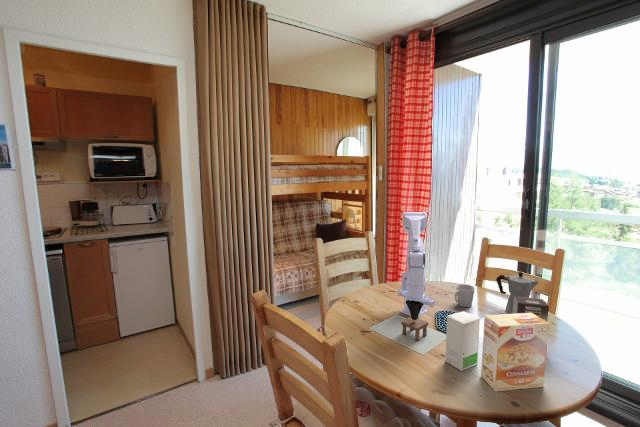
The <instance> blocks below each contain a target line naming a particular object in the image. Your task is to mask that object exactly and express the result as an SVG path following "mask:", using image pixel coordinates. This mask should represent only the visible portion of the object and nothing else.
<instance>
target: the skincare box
mask: <svg viewBox="0 0 640 427" xmlns="http://www.w3.org/2000/svg"><path fill="white" fill-rule="evenodd" d="M480 320H481V317H478V316H475V315H473V314H470V313H469V312H466V311H464V310H463V311H460V312H454V313H453V314H449V315H446V333H445V334H446V340H445V360H444V361H445V362H446V363H447V364H449V365H451V367H454V368H456V369H457V370H459V371H460V372H463V371H465V370H467V369H470V368H472V367H474V366H477V365H478V364H479V344H480V340H479V339H480V322H481V321H480Z"/></svg>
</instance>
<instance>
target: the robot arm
mask: <svg viewBox="0 0 640 427" xmlns="http://www.w3.org/2000/svg"><path fill="white" fill-rule="evenodd" d="M427 216H428V215H427V212H426V211H403V212H402V231H404V232H406V233H407V235H408V240H407V252H406V270H405V271H404V272H403V273H402V274H401V283H400V284H401V285H400V287H401V288H400V289H398V290H397V291H396V292H397V296H399V297H400V296H401V297H403V309H400V310H399V312H400V313H402V314H404V315H406V316H407V315H408V316H409V317H411V318H412V320H417V319H418V318H419V316H422V315H424V314H426V313H427V312H428V310H427V308H426V306H428V307H430V308H434V306H435V302H436V301H435V300H434V299H431V298H429V297H428V296H426V294H425V292H426V277H425V269H426V265H427V256H426V252H425V250H424V249H425V248H424V240H423V239H422V237H421V233H423V232H425V230H426V229H427V228H426V226H427V223H428V218H427Z"/></svg>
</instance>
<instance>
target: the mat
mask: <svg viewBox="0 0 640 427" xmlns="http://www.w3.org/2000/svg"><path fill="white" fill-rule="evenodd" d="M407 318H408V317H404V316H402V315H400V314H394V315H392V316H391V317H389V318H387V319H384V320H383V321H381V322H378V323H377V324H375V325H372V326H371V327H369V328H368V329H369V330H372V331H374V332H375V333H378V334H379V335H381V336H384V337H385V338H387V339H389V340H391V341H394V342H395V343H398V344H400V345H402V346H404V347H406V348H408V349H410V350H412V351H414V352H416V353H418V354H420V355H422V356H424V355H425V354H427V353H428V352H430V351H431V350H432V349H434V348H436V347H437V346H439V345H440V344H441V343H443V342H444V341H446V333H443V332H441V331H438V330H436V329H433V328H431V327H429V326H427V336H426V337H424V336H423V329H421V330H420V334H419V341H416V340H415V332H416V331H415V330H414V331H411V330H410V328H408V327H406V335H403V334H402V331H403V325H401V321H403V320H405V319H407Z"/></svg>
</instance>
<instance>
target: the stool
mask: <svg viewBox="0 0 640 427" xmlns="http://www.w3.org/2000/svg"><path fill="white" fill-rule="evenodd" d="M406 318H407V319H405V320H403V321H401V325H403V331H402V334H403V335H406V327H408V328H410V330H411V331H414V330H415V331H416V332H415V340H416V341H419V334H420V330H421V329H423V336H424V337H426V336H427V327H429V321H426V320H423V319H421V318H420V317H418V319H417V320H412V318H411V316H409V317H406Z"/></svg>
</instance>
